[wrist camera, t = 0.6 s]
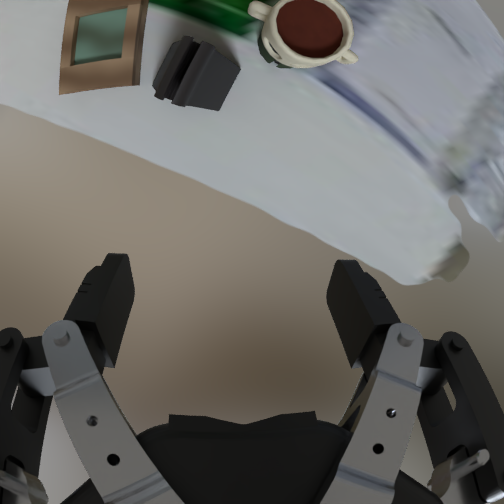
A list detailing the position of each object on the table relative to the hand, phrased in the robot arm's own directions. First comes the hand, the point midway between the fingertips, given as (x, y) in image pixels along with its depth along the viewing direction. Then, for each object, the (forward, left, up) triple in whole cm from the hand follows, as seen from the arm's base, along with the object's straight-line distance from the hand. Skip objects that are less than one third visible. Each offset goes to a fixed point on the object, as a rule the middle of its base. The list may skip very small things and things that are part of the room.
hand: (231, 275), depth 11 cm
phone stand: (-8, -4, -28) cm, 29 cm away
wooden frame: (-14, -16, -28) cm, 35 cm away
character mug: (-13, +6, -28) cm, 31 cm away
